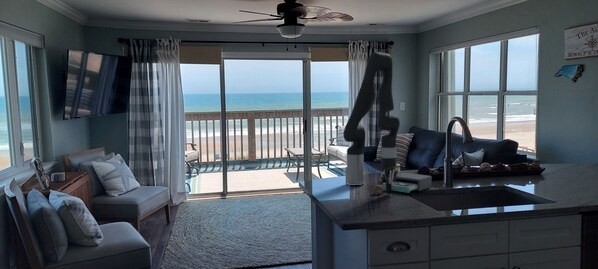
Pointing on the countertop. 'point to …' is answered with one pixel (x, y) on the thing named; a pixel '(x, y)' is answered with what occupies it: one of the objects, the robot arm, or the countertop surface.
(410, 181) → the player housing
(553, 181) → the countertop surface
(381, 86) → the robot arm
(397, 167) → the teacup with lid
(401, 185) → the disc
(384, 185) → the tray
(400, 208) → the countertop surface
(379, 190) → the pedestal
